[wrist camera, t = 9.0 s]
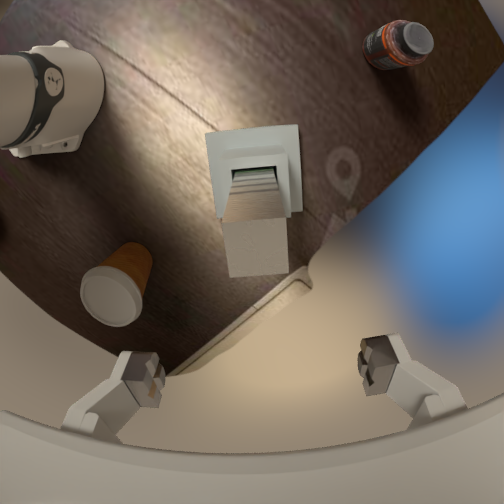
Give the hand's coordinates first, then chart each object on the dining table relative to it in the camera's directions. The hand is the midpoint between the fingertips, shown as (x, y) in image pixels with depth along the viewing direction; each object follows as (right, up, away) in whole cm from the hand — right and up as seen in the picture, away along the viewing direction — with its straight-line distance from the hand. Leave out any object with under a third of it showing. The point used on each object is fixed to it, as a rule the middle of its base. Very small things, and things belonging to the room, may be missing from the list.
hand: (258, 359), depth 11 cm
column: (0, +12, +22) cm, 25 cm away
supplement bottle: (+17, +32, +20) cm, 42 cm away
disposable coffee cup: (-20, +3, +36) cm, 41 cm away
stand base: (0, +15, +29) cm, 33 cm away
